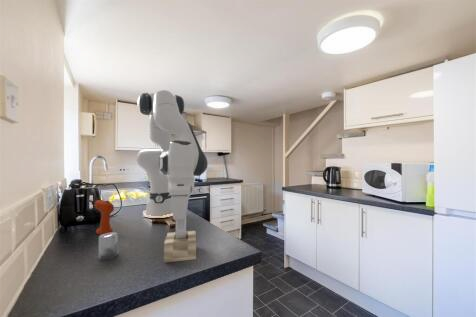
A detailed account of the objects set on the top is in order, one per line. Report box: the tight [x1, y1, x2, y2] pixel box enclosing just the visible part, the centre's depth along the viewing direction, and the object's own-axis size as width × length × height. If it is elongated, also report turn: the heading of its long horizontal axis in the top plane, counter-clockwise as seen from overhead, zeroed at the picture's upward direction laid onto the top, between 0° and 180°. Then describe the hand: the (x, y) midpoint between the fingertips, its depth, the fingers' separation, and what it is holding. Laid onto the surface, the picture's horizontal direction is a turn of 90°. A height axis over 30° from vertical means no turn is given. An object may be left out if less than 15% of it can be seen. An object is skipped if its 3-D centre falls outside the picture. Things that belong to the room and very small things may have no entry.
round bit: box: [98, 231, 119, 261], centre depth 68 cm, size 6×6×7 cm
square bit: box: [175, 218, 187, 240], centre depth 70 cm, size 3×3×10 cm
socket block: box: [163, 230, 197, 264], centre depth 70 cm, size 10×10×6 cm
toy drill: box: [86, 199, 115, 235], centre depth 92 cm, size 5×19×15 cm, turn 65°
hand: (181, 226), depth 70 cm, fingers closed on square bit, 3 cm apart
